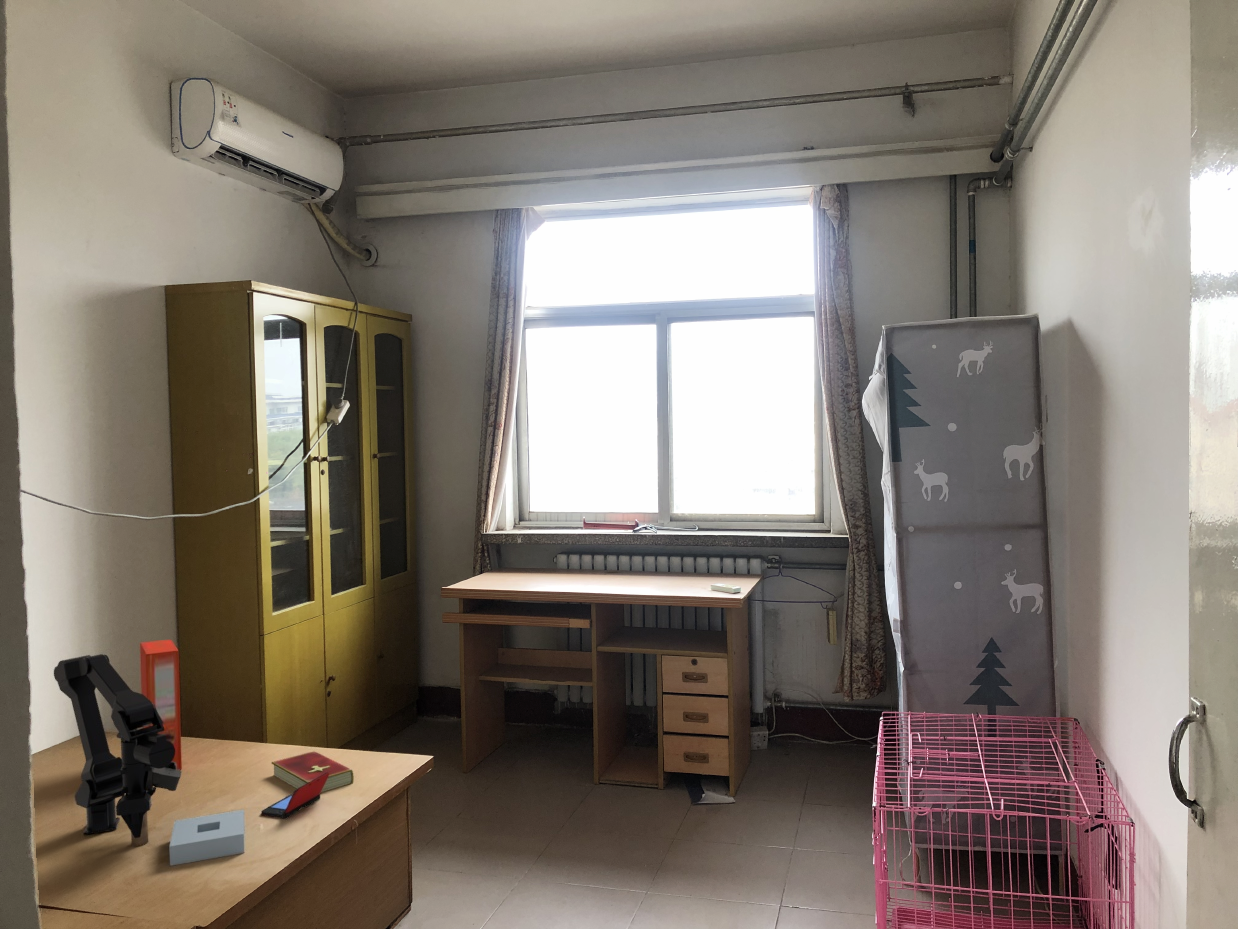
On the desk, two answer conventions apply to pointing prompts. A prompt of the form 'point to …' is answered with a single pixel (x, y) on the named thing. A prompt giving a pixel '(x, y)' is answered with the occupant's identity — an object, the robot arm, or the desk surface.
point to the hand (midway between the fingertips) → (139, 831)
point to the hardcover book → (312, 770)
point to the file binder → (163, 688)
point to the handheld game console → (297, 799)
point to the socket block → (207, 837)
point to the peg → (144, 834)
